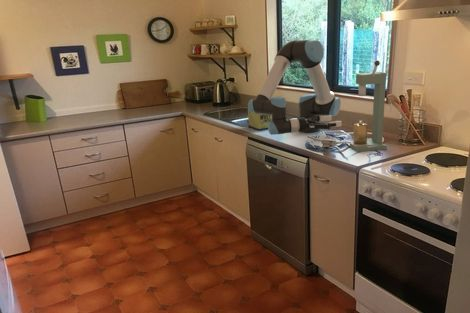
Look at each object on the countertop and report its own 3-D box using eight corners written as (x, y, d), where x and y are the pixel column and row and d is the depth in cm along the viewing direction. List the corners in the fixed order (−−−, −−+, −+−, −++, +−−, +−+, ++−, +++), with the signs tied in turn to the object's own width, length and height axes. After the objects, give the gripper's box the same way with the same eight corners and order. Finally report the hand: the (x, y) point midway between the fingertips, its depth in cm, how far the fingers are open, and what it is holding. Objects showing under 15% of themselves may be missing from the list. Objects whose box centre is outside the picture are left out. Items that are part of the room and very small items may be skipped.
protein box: (260, 131, 249) (259, 108, 244) (248, 127, 262) (247, 105, 257) (273, 128, 253) (272, 106, 249) (260, 124, 267) (259, 103, 262)
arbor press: (345, 144, 208) (347, 60, 194) (372, 141, 210) (376, 58, 195) (357, 152, 193) (360, 62, 179) (386, 149, 194) (392, 59, 180)
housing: (351, 141, 203) (351, 120, 199) (363, 140, 204) (363, 119, 200) (356, 145, 196) (357, 123, 193) (369, 143, 197) (370, 121, 193)
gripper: (291, 126, 208) (327, 122, 210) (305, 138, 184) (345, 133, 186) (290, 113, 205) (327, 109, 207) (304, 123, 182) (346, 118, 184)
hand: (336, 120), depth 197 cm, fingers open, 13 cm apart
